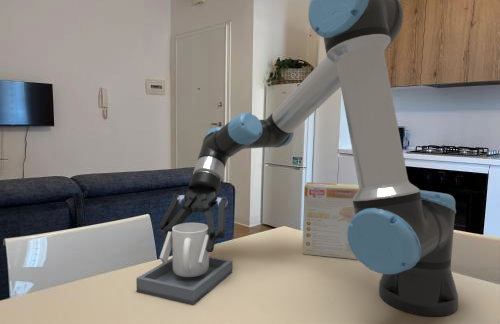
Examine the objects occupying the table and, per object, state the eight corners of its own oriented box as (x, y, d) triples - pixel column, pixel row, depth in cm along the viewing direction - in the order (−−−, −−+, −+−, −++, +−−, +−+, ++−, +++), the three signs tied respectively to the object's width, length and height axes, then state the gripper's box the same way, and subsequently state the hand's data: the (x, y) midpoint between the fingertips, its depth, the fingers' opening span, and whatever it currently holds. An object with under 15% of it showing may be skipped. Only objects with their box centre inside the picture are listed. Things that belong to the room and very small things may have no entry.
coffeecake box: (357, 251, 108) (360, 184, 105) (358, 260, 101) (361, 188, 99) (304, 246, 111) (306, 181, 109) (301, 254, 104) (304, 185, 102)
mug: (204, 285, 79) (204, 238, 78) (165, 285, 79) (164, 237, 78) (210, 264, 91) (210, 222, 90) (176, 263, 91) (176, 222, 90)
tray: (232, 272, 91) (232, 260, 91) (193, 305, 75) (193, 290, 74) (183, 263, 97) (183, 251, 96) (136, 291, 80) (136, 278, 80)
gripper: (249, 189, 96) (231, 274, 82) (172, 185, 101) (143, 265, 87) (244, 171, 90) (225, 260, 77) (163, 168, 95) (131, 250, 81)
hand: (181, 262), depth 82 cm, fingers closed on mug, 8 cm apart
